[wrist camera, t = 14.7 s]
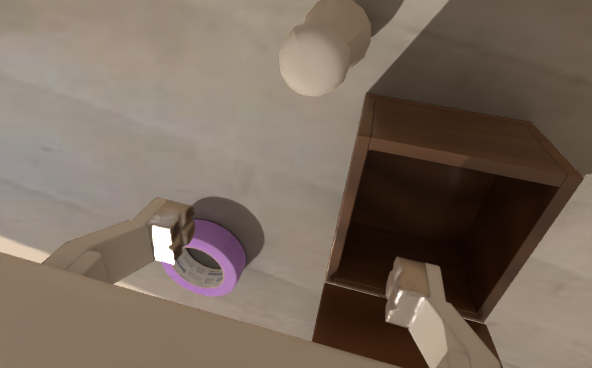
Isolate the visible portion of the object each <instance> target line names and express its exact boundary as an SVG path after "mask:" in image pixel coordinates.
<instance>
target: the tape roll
mask: <svg viewBox="0 0 592 368" xmlns="http://www.w3.org/2000/svg"><path fill="white" fill-rule="evenodd" d="M194 222H195V233H194V236H193V238H192V240H191V242H190V243H189V245H186V246H184V247H182V248H183V253H182V254H181V256H180V257H179V258H178V260H177V261H176V262H175V264H171V263H167V262H163V261H161V264H162V266H163V268H164V269H165V271H166V272H167V273H168V275H169V276H170V277H171V278H172V279H173V280H174V281H176V282H177V283H178V284H180V285H181V286H183V287H184V288H186V289H188V290H190V291H192V292H195V293H197V294H201V295H205V296H222V295H225V294H228V293H229V292H231V291H232V290H233V289H234V287H235V286H236V284H237V282H238V280H239V277H240V275H241V273H242V271H243V269H244V267H245V264H246V255H245V251H244V249H243V247H242V245H241V244H240V242H239V241H238V240H237V238H236V237H235V236H234V235H233V234H232V233H230V232H229V231H228V230H226V229H225V228H223V227H221V226H219V225H217V224H215V223H213V222H209V221H206V220H199V219H194ZM186 248H194V249H198V250H201V251H203V252H205V253H207V254H208V255H210V256H211V257H212V258H214V259H215V260H216V261H217V262H218V264H219V265H220V267H221V269H213V268H209V267H206V266H204V265H202V264H200V263H198V262H197V261H196V260H194V259H193V258H192V257H191V256H190V254H189V253H188V251H187V249H186Z"/></svg>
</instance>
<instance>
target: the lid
mask: <svg viewBox="0 0 592 368" xmlns="http://www.w3.org/2000/svg"><path fill="white" fill-rule="evenodd" d="M387 301H388V299H385V298H382V297H378V296H374V295H370V294H366V293H362V292H359V291H355V290H351V289H347V288H343V287H339V286H335V285H332V284H328V283H324V287H323V291H322V296H321V301H320V305H319V310H318V315H317V319H316V324H315V329H314V333H313V338H312V342H315V343H318V344H322V345H325V346H329V347H332V348H336V349H339V350H343V351H346V352H350V353H353V354H356V355H360V356H363V357H367V358H370V359H374V360H377V361H381V362H384V363H388V364H391V365H395V366H398V367H402V368H429V366H428V364H427V362H426V360H425V359H424V357H423V355H422V353H421V351H420V350H419V348H418V346H417V344H416V342H415V340H414V339H413V337H412V335H411V333H410V331H409V328H405V327H402V326H399V325H395V324H392V323H389V322H385V306H386V304H387ZM464 320H465V321H466V323H467V324H468V325H469V326H470V327H471V329H472V330H473V331H474V332H475V333H476V334H477V336H478V337H479V338H480V339H481V340H482V342H483V343H484V344H485V345H486V346H487V348H488V349H489V350H490V351H491V352H492V354H493V355H494V356H495V357H496V358H497V360H498V361H499V362H500V366H501V368H503V367H502V364H501V361H500V359H499V356H498V354H497V351H496V349H495V346H494V344H493V341H492V338H491V336H490V333H489V331H488V328H487V326H486V325H485V324H482V323H478V322H474V321H470V320H466V319H464Z"/></svg>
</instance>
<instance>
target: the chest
mask: <svg viewBox="0 0 592 368" xmlns="http://www.w3.org/2000/svg"><path fill="white" fill-rule="evenodd" d="M583 179H584V178H583V177H582V176H581V175H580V173H579V172H578V171H577V170H576V169H575V168H574V167H573V166H572V165H571V164H570V163H569V162H568V161H567V160H566V159H565V158H564V156H563V155H562V154H561V153H560V152H559V151H558V150H557V149H556V148H555V147H554V146H553V145H552V144H551V143H550V142H549V140H548V139H547V138H546V137H545V136H544V135H543V134H542V133H541V132H540V131H539V130H538V129H537V128H536V127H535V126H534V125H533V124H532V122H527V121H521V120H516V119H510V118H504V117H499V116H493V115H487V114H481V113H476V112H470V111H464V110H459V109H453V108H447V107H441V106H436V105H430V104H424V103H419V102H413V101H407V100H401V99H396V98H390V97H384V96H379V95H373V94H367V93H366V96H365V100H364V105H363V109H362V114H361V118H360V123H359V127H358V132H357V136H356V140H355V145H354V149H353V154H352V158H351V163H350V167H349V172H348V176H347V181H346V185H345V190H344V194H343V199H342V203H341V208H340V212H339V217H338V221H337V226H336V231H335V235H334V240H333V245H332V249H331V254H330V259H329V263H328V268H327V273H326V277H325V282H328V283H332V284H334V283H335V284H336V285H340V286H343V287H347V288H351V289H355V290H359V291H363V292H367V293H370V294H374V295H378V296H382V297H386V284H387V280H388V276H389V273H390V271H392V270H393V263H394V261H395V259H396V257H397V256H398V257H402V258H407V259H411V260H415V261H419V262H423V263H428V264H433V265H437V266H439V267H440V270H441V276H442V281H443V287H444V293H445V298H446V302H448V303H451V305H452V306H453V307H454V308H455V309H456V311H457V312H458V313H459V314H460V315H461V317H463V318H467V319H471V320H474V321H478V322H482V323H484V321H485V320H486V319H487V317H488V316H489V314H490V313H491V311H492V310H493V309H494V307H495V306H496V304H497V303H498V301H499V300H500V298H501V297H502V296H503V294H504V293H505V291H506V290H507V288H508V287H509V285H510V284H511V283H512V281H513V280H514V278H515V277H516V275H517V274H518V273H519V271H520V270H521V268H522V267H523V265H524V264H525V262H526V261H527V260H528V258H529V257H530V255H531V254H532V252H533V251H534V249H535V248H536V247H537V245H538V244H539V242H540V241H541V239H542V238H543V237H544V235H545V234H546V232H547V231H548V229H549V228H550V226H551V225H552V224H553V222H554V221H555V219H556V218H557V216H558V215H559V213H560V212H561V211H562V209H563V208H564V206H565V205H566V203H567V202H568V201H569V199H570V198H571V196H572V195H573V193H574V192H575V190H576V189H577V188H578V186H579V185H580V183H581V182H582V180H583ZM386 298H387V297H386Z"/></svg>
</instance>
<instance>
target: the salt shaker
mask: <svg viewBox="0 0 592 368" xmlns="http://www.w3.org/2000/svg"><path fill="white" fill-rule="evenodd" d="M370 42H371V23H370V21H369V19H368V17H367V15H366V13H365V11H364V9H363V8H362V7H360V6H359V5H358V4H357V3H355V2H354V1H353V0H323V1H320V2H318V3H317V4H316V5H315V6H314V8H313V9H312V10H311V11H310V12H309V13H308V14H307V16H306V19H305V22H304V24H301V25H298V26H295V27H294V29H293V30H292V31H291V32H290V33H289V34H288V35H287V37H286V38H285V39H284V41H283V44H282V47H281V51H280V54H279V64H280V71H281V74H282V76H283V77H284V79H285V81H286V83H287V84H288V86H289V87H291V88H292V89H294V90H295V91H296V92H298V93H299V94H301V95H306V96H311V97H318V96H321V95H325V94H328V93H330V92H332V91H333V90H334V89H335V88H336V87H337V86H339V85H340V84H341V83H342V82H343V81H344V78H345V76H346V74H347V71H348V69H349V68H352V67H353V66H354V65H355V64H357V63H358V62H359V61H360V60H361V59H362V58H364V56H365V54H366V51H367V49H368V46H369V44H370Z"/></svg>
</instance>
